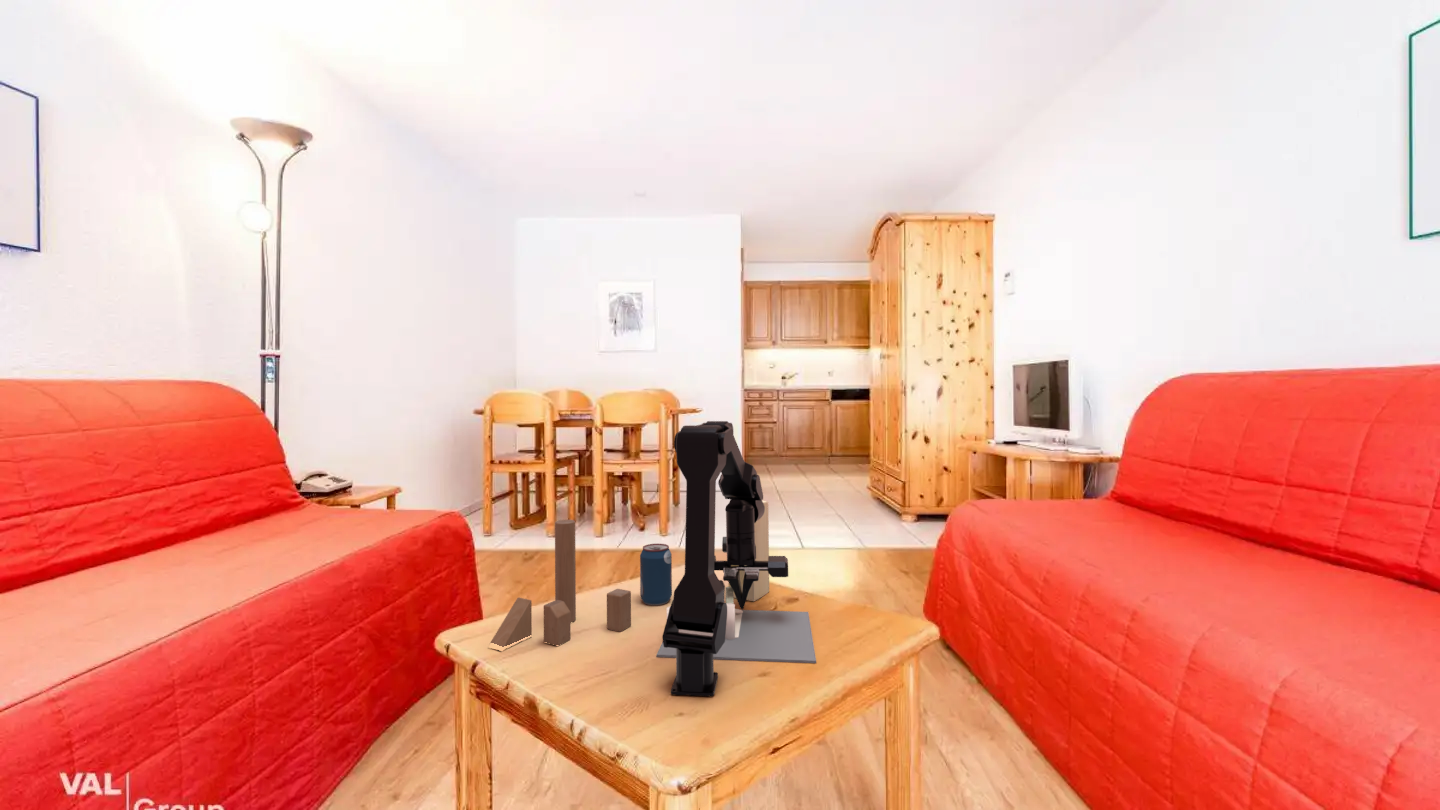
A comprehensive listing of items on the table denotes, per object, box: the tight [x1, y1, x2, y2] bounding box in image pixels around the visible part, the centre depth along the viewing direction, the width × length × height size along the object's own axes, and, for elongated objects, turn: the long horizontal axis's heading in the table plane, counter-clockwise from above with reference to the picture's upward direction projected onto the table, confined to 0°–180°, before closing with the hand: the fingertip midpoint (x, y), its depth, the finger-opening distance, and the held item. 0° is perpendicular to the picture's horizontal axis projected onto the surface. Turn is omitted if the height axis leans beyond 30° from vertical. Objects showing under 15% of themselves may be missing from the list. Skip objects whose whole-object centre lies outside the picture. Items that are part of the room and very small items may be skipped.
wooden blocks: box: [490, 519, 632, 647], centre depth 102 cm, size 17×20×20 cm
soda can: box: [639, 543, 673, 606], centre depth 121 cm, size 7×7×12 cm
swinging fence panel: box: [725, 586, 735, 604], centre depth 107 cm, size 2×12×4 cm, turn 179°
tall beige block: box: [728, 500, 770, 602], centre depth 125 cm, size 8×7×21 cm
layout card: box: [655, 603, 817, 664], centre depth 103 cm, size 22×27×6 cm
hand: (742, 608), depth 110 cm, fingers closed
